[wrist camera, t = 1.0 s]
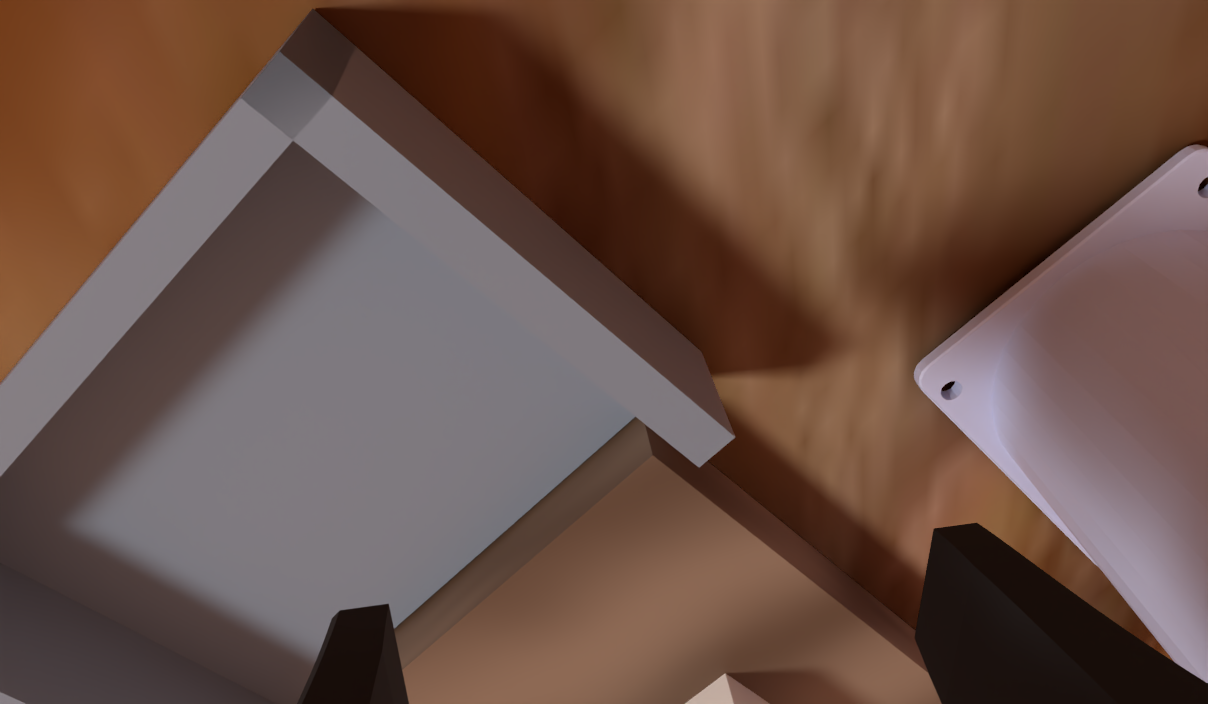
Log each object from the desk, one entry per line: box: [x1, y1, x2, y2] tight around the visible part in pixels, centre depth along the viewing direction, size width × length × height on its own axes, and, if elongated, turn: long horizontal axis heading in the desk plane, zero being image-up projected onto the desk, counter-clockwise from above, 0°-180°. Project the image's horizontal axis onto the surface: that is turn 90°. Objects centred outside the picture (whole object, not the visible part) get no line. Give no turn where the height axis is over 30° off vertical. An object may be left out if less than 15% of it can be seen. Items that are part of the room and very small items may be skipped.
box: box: [0, 9, 735, 704], centre depth 21 cm, size 11×16×4 cm
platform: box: [394, 417, 942, 704], centre depth 27 cm, size 14×12×2 cm
